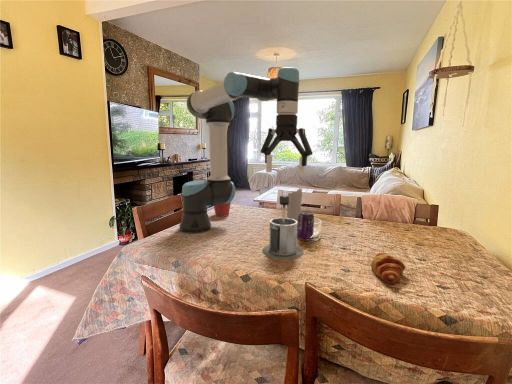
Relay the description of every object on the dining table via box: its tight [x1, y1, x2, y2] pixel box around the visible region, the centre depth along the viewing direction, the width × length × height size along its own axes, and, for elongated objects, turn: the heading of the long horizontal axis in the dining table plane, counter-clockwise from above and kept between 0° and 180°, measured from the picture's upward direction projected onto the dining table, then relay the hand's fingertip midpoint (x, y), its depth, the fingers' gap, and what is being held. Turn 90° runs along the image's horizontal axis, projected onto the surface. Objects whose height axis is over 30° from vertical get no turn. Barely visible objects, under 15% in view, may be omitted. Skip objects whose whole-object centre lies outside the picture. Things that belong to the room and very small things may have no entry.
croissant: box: [370, 252, 406, 284], centre depth 94 cm, size 21×10×8 cm, turn 163°
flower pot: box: [213, 201, 232, 217], centre depth 164 cm, size 11×11×10 cm
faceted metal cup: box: [269, 217, 298, 257], centre depth 107 cm, size 11×13×12 cm
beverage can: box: [297, 210, 315, 241], centre depth 126 cm, size 7×7×12 cm
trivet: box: [261, 245, 304, 261], centre depth 109 cm, size 16×16×1 cm
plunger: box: [278, 195, 289, 225], centre depth 107 cm, size 8×8×19 cm
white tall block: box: [286, 187, 303, 226], centre depth 147 cm, size 7×14×20 cm, turn 54°
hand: (284, 173), depth 104 cm, fingers open, 13 cm apart
